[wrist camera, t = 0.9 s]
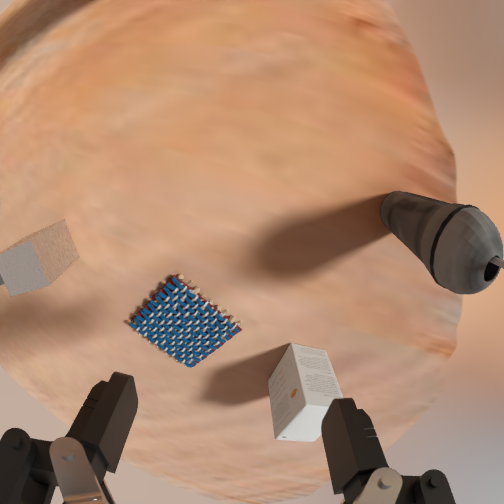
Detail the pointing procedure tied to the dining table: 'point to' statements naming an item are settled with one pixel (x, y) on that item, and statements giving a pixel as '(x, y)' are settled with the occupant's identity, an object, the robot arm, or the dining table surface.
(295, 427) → the small box
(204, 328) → the woven mat
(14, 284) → the block
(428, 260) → the beverage cup
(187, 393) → the dining table surface
